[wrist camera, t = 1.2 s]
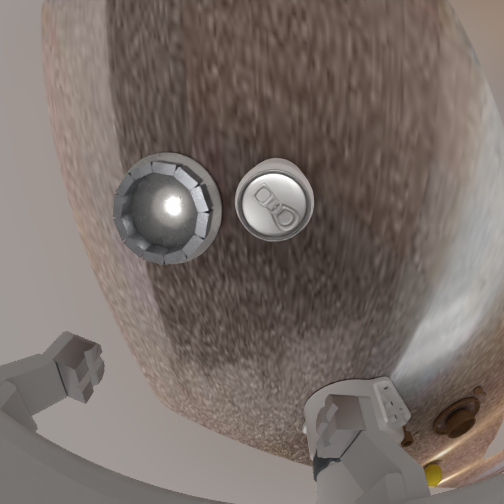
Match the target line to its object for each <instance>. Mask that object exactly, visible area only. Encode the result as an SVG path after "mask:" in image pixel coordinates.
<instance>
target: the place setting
mask: <svg viewBox="0 0 504 504" xmlns="http://www.w3.org/2000/svg"><path fill="white" fill-rule="evenodd" d="M474 393H475V394H478V393H481V394H483V395H486V393H484V392H482V388H481V387H477V388H476V389H475V390H474ZM469 401H474V402H475V406H474V409H473V410H472V412H471V411H470V410H467V409H465V410H462V409H460V410H457V411H455V412H454V413H453V414H451V416H450V417H449V419H448V421H447V422H446V425H445V429H438V428H437V427H436V425H437V424H438V422H439V421H440V420H441V418H442V417H443V416H445V415H446V414H447V413H448V412H449V411H451V410H452V409H454V408H455V407H457V406H459V405H461V404H463V403H466V402H469ZM479 408H480V402H479V401H478V400H477V399H476V398H465V399H462V400H460V401H458V402H456V403H454V404H452V405H451V406H449V407H448V408H447V409H445V410H444V411H443V412H442V413H441V414H440V415H439V416H438V418H437V419H436V421H435V423H434V427H433V429H434V432H435V434H437V435H448V437H449V438H456V437H459V436H461V435H463V434H465V433H466V432H467V431H469V430H470V429H471V428H472V427H473V425H474V424H475V421H476V419H475V415H476V414H477V413H478V411H479ZM402 428H403V431H404V439H403V440H402V442H401V445H402V447H407V446H409V445H411V444H412V443H413V442H414V441H413V438H412V435H411V433H410V432H408V431H406V430H405V428H406V427H405V425H404V426H402Z"/></svg>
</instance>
